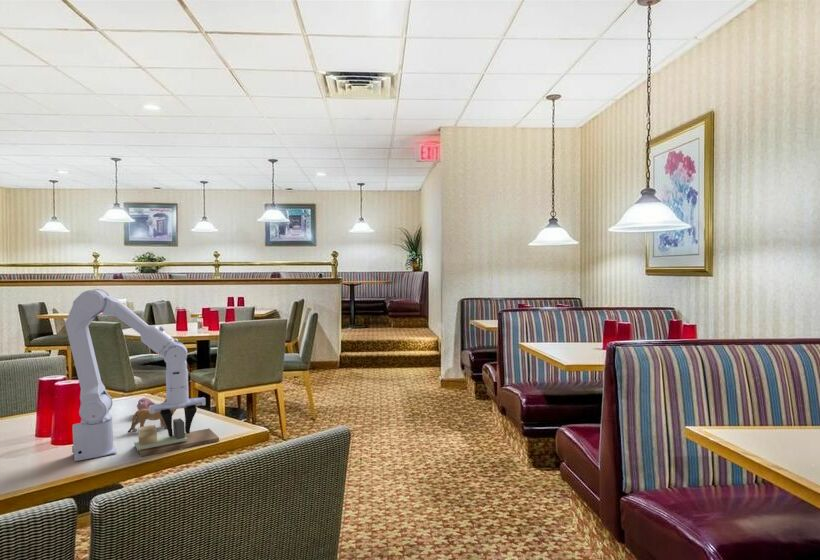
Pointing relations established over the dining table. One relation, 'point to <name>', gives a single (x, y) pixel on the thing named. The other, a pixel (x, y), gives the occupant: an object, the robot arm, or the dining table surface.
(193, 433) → the board
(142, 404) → the pink purple rounded lump
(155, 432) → the cube
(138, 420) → the lion figurine
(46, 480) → the dining table surface
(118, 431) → the dining table surface
